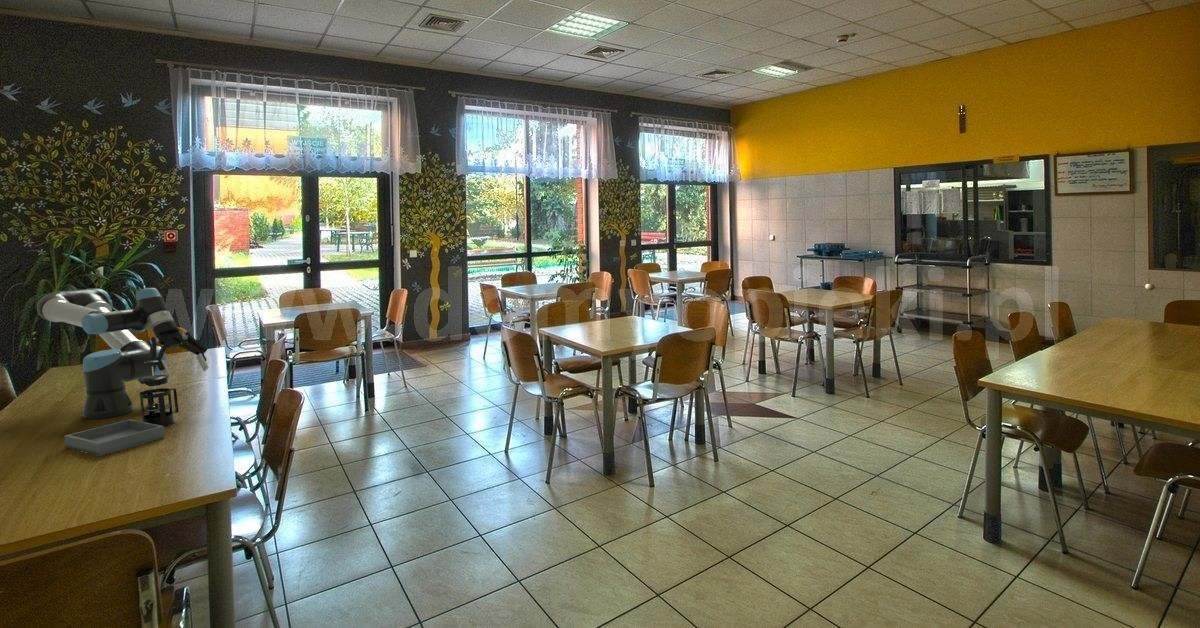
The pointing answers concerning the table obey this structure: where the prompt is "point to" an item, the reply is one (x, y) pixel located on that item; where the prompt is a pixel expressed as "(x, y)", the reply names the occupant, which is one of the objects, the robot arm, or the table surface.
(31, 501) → the table surface
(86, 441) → the tray
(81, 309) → the robot arm
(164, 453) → the table surface
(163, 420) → the french press
